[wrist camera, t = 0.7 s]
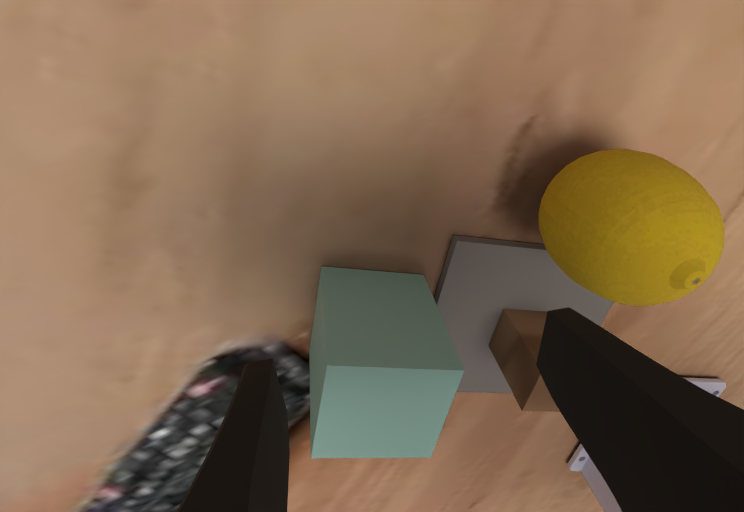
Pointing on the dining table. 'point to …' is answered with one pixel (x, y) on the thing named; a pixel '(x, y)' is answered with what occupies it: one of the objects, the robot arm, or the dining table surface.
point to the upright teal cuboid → (378, 366)
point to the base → (501, 299)
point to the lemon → (631, 227)
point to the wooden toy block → (522, 357)
